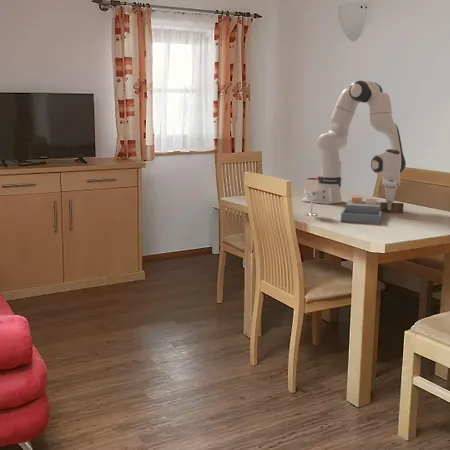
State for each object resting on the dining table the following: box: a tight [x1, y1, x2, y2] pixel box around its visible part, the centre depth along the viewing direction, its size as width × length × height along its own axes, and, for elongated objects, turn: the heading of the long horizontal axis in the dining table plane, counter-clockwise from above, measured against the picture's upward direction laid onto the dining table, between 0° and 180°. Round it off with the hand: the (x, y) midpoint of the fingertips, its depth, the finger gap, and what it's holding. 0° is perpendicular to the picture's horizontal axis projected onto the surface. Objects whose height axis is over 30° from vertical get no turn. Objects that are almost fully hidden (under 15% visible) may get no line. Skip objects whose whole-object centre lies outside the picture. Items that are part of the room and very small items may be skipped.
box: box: [340, 208, 383, 225], centre depth 292 cm, size 18×13×4 cm
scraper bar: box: [380, 201, 405, 214], centre depth 314 cm, size 14×3×5 cm, turn 81°
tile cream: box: [365, 196, 378, 204], centre depth 305 cm, size 5×5×2 cm
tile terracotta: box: [351, 195, 364, 203], centre depth 307 cm, size 5×5×2 cm
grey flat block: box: [345, 199, 382, 211], centre depth 304 cm, size 16×14×6 cm
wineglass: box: [303, 177, 321, 217], centre depth 303 cm, size 8×8×18 cm
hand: (389, 208), depth 314 cm, fingers open, 8 cm apart
